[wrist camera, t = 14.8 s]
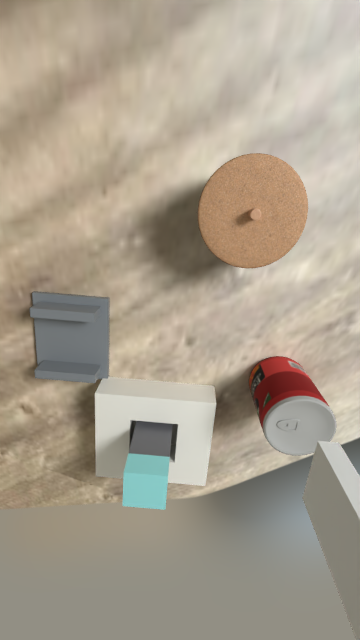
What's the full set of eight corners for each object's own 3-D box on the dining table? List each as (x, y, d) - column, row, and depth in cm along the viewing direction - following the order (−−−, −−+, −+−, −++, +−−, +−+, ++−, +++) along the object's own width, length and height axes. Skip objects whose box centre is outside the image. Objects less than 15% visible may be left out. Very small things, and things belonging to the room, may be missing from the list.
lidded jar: (224, 273, 42) (233, 291, 33) (179, 197, 39) (175, 195, 30) (302, 226, 40) (333, 232, 31) (259, 142, 37) (281, 123, 28)
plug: (138, 437, 50) (122, 505, 38) (139, 409, 48) (123, 472, 37) (171, 440, 50) (165, 509, 38) (173, 412, 48) (168, 476, 37)
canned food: (245, 358, 46) (260, 404, 35) (303, 350, 45) (336, 394, 35) (250, 405, 48) (266, 460, 38) (306, 398, 47) (338, 452, 37)
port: (103, 454, 52) (95, 476, 48) (103, 376, 47) (94, 393, 43) (204, 462, 52) (205, 485, 48) (214, 385, 47) (216, 403, 43)
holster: (40, 371, 47) (28, 384, 44) (34, 291, 43) (20, 298, 40) (108, 377, 47) (102, 391, 44) (109, 297, 43) (102, 305, 40)
